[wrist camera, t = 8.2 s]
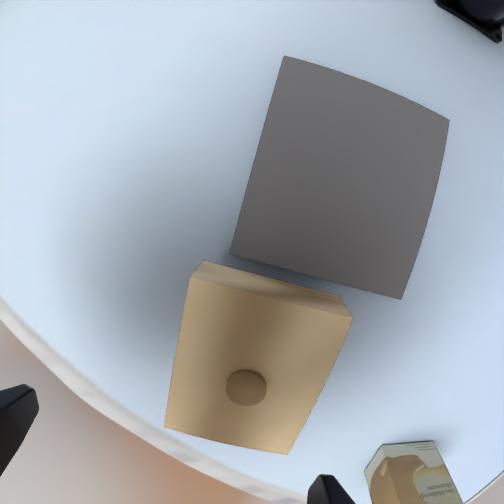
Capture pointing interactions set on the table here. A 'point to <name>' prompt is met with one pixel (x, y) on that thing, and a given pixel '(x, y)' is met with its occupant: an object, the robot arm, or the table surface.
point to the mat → (341, 180)
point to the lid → (252, 357)
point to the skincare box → (410, 476)
